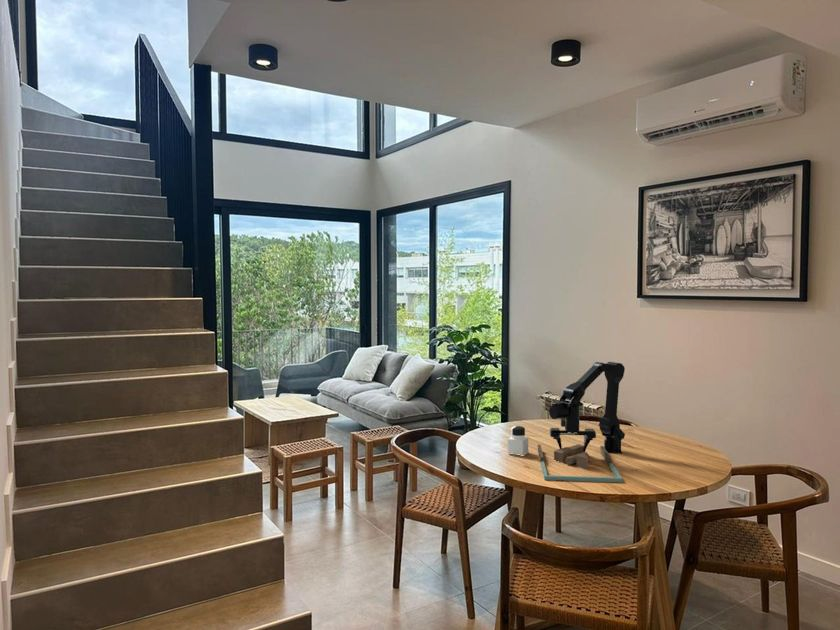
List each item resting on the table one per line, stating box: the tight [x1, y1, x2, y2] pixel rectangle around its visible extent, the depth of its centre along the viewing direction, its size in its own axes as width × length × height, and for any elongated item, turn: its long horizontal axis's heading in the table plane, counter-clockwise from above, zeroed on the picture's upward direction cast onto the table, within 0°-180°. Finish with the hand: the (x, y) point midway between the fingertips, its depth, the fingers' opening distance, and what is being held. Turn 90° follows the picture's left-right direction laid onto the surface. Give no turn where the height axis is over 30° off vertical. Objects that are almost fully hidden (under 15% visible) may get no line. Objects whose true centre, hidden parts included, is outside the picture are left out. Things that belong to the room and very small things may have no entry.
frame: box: [540, 461, 623, 484], centre depth 223 cm, size 28×19×2 cm
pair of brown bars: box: [537, 444, 613, 466], centre depth 243 cm, size 28×20×3 cm
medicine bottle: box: [507, 425, 529, 456], centre depth 251 cm, size 7×7×12 cm
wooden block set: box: [553, 443, 590, 471], centre depth 238 cm, size 17×6×18 cm
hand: (572, 452), depth 244 cm, fingers open, 9 cm apart
